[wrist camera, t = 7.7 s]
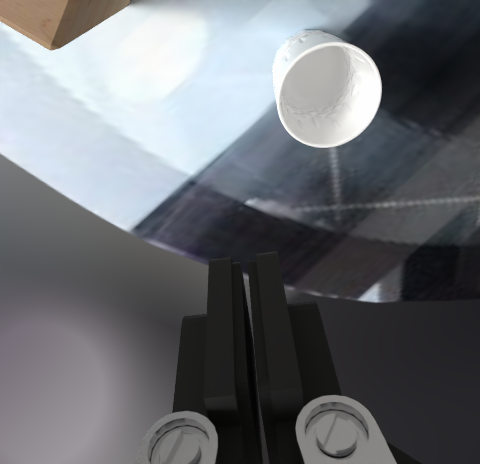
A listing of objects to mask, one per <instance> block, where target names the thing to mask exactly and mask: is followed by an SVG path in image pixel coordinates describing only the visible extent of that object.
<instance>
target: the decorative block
mask: <svg viewBox="0 0 480 464" xmlns="http://www.w3.org/2000/svg"><path fill="white" fill-rule="evenodd" d="M130 1H131V0H0V21H1V22H3V23H4V24H6V25H8V26H9V27H11V28H13V29H14V30H16V31H18V32H20V33H21V34H23V35H25V36H26V37H28V38H30V39H32V40H33V41H35V42H37V43H38V44H40V45H42V46H44V47H45V48H47V49H49V50H55V49H59V48H61V47H63V46H64V45H66V44H68V43H69V42H71V41H72V40H74V39H76V38H77V37H79V36H81V35H82V34H84V33H85V32H87V31H89V30H90V29H92V28H93V27H95V26H96V25H98V24H100V23H101V22H103V21H104V20H106V19H108V18H109V17H111V16H112V15H114V14H116V13H117V12H119V11H120V10H122V9H124V8H125V7H127V6H128V5H129V3H130Z"/></svg>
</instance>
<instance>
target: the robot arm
mask: <svg viewBox="0 0 480 464" xmlns="http://www.w3.org/2000/svg"><path fill="white" fill-rule="evenodd" d="M248 273H249V286H250V298H251V309H252V322H253V334H254V347H255V356H254V347H253V338H252V332H251V325H250V319H249V312H248V306H247V299H246V292H245V286H244V279H243V273H242V266H241V262H236V263H233V262H232V258H231V257H229V258H221V259H212V260H209V276H208V300H207V314H202V315H193V316H185V317H184V318H183V320H182V328H181V337H180V347H179V356H178V365H177V374H176V384H175V394H174V403H173V412H172V414H170V415H167V416H165V417H163V418H162V419H160V420H159V421H157V422H156V423H155V424H153V426H152V427H151V428H150V429H149V430H148V432H147V433H146V434H145V436H144V438H143V441H142V443H141V445H140V448H139V451H138V454H137V457H136V460H135V464H263V456H262V444H261V431H260V418H259V406H258V393H257V383H258V392H259V399H260V406H261V412H262V419H263V425H264V431H265V438H266V444H267V450H268V456H269V463H270V464H421V463H420V462H418V461H416V460H415V459H413V458H411V457H410V456H409V455H407V454H405V453H404V452H402V451H401V450H399V449H397V448H396V447H394V446H393V445H391V444H389V443H388V442H386V441H385V439H384V437H383V435H382V433H381V431H380V429H379V428H378V425H377V423H376V422H375V419H374V418H373V417H372V415H371V414H370V412H369V411H368V410H367V409H366V408H365V407H363V406H362V405H361V404H360V403H358V402H357V401H355V400H352V399H350V398H348V397H344V396H342V395H341V391H340V387H339V383H338V380H337V376H336V373H335V368H334V365H333V361H332V357H331V354H330V350H329V346H328V342H327V339H326V335H325V331H324V327H323V323H322V320H321V316H320V312H319V309H318V306H317V303H316V301H313V302H304V303H297V304H287V302H286V296H285V290H284V285H283V279H282V274H281V268H280V263H279V258H278V252H270V253H262V254H256V260H253V261H248ZM255 359H256V369H255ZM256 371H257V382H256Z"/></svg>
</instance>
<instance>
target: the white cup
mask: <svg viewBox="0 0 480 464" xmlns="http://www.w3.org/2000/svg"><path fill="white" fill-rule="evenodd" d="M272 71H273V85H274V94H275V99H276V103H277V108H278V113H279V117H280V119H281V122H282V124H283V125H284V127H285V129H286V130H287V131H288V132H289V133H290V134H291V135H292V136H293V137H294V138H295V139H297V140H298V141H300V142H302V143H304V144H306V145H309V146H313V147H321V148H326V147H334V146H338V145H341V144H344V143H346V142H348V141H350V140H352V139H354V138H355V137H357V136H358V135H359V134H360V133H362V132H363V131H364V130H365V129H366V128H367V126H368V125H369V124H370V123H371V121H372V120H373V118H374V116H375V114H376V112H377V110H378V107H379V104H380V101H381V95H382V83H381V77H380V74H379V71H378V68H377V66H376V64H375V63H374V61H373V60H372V59H371V57H370V56H369V55H368V54H367V53H365V52H364V51H363V50H361V49H360V48H358V47H356V46H354V45H352V44H350V43H348V42H346V41H344V40H342V39H341V38H339V37H337V36H334V35H332V34H329V33H324V32H322V31H320V30H302V31H300V32H299V33H297V34H295V35H293V36H291V37H289V38H287V39H286V41H285V42H284V43H283V44H282V46H281V47H280V48H279V50H278V51H277V52H276V56H275V60H274V64H273V68H272Z"/></svg>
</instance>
